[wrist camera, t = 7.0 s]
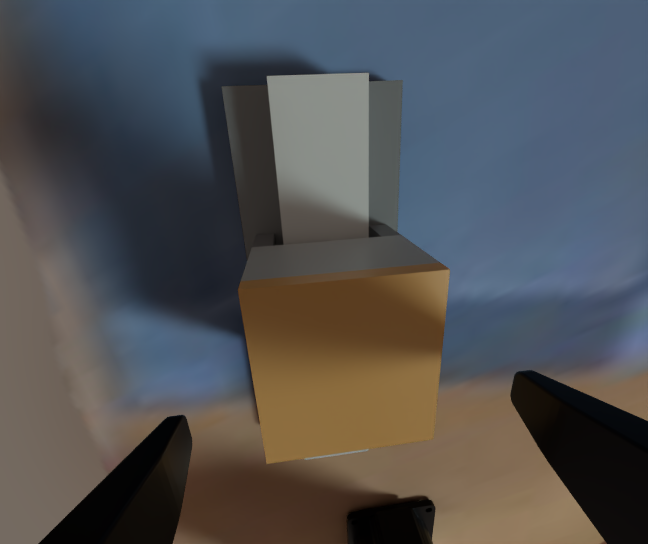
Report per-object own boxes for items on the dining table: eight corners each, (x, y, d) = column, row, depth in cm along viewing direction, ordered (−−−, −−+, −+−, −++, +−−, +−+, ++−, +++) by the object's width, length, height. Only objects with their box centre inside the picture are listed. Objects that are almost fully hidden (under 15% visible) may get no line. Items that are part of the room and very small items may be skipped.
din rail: (385, 411, 20) (399, 446, 18) (273, 426, 19) (272, 464, 17) (394, 85, 13) (417, 71, 11) (225, 91, 13) (213, 77, 10)
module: (383, 344, 17) (433, 439, 11) (272, 357, 16) (266, 463, 11) (386, 224, 14) (450, 269, 9) (255, 234, 14) (238, 289, 8)
